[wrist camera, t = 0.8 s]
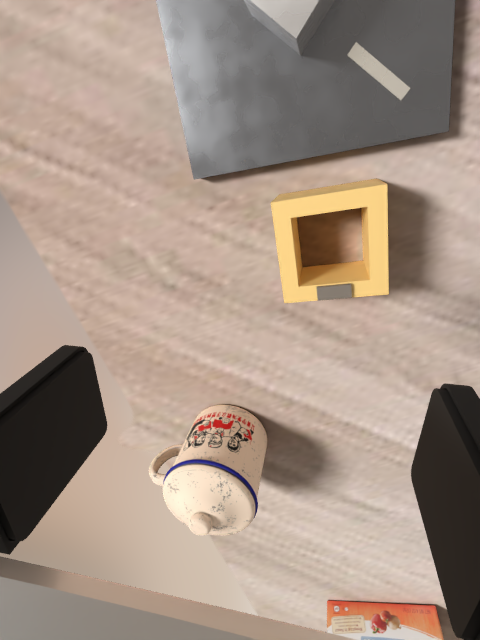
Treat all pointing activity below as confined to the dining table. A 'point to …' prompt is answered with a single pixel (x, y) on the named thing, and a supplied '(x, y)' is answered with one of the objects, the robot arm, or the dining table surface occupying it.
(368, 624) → the cracker box
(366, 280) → the collar
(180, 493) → the teacup with lid
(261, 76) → the post plate
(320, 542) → the dining table surface
